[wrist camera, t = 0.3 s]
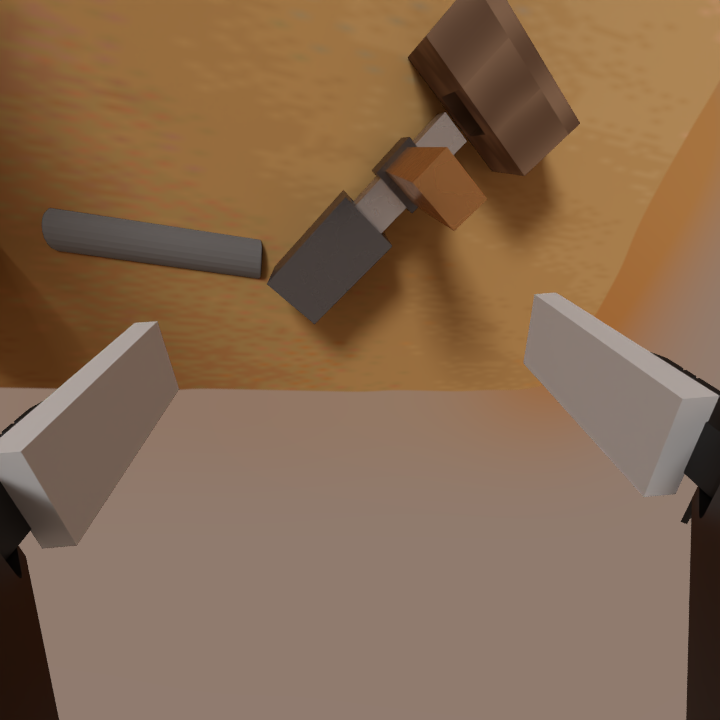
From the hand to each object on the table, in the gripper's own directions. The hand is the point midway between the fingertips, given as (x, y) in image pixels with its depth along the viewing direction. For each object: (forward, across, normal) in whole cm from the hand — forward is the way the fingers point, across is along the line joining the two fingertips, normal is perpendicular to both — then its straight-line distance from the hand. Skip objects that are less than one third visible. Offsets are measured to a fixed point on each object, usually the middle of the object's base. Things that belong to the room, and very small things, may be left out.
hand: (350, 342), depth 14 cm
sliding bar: (+26, +2, +1) cm, 26 cm away
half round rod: (+28, -18, -1) cm, 33 cm away
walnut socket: (+27, +12, +10) cm, 32 cm away
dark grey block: (+27, -1, -3) cm, 27 cm away
